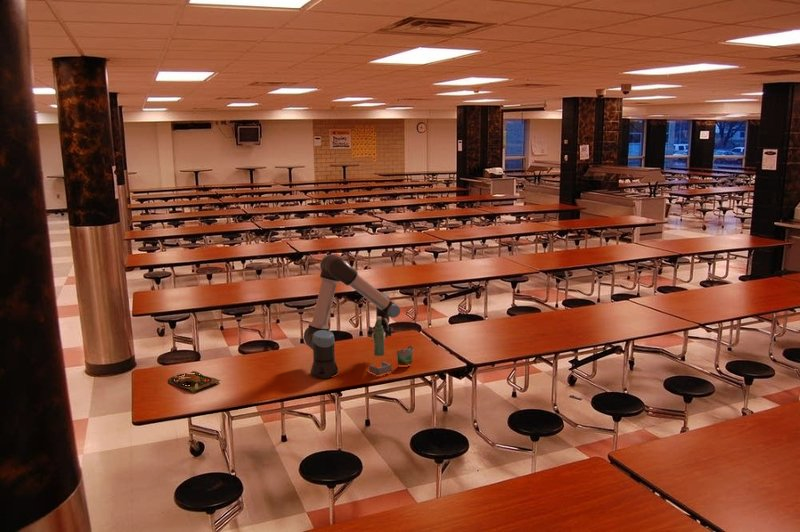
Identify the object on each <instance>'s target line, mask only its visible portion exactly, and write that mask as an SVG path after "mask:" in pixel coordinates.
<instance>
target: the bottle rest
mask: <svg viewBox="0 0 800 532" xmlns="http://www.w3.org/2000/svg"><path fill="white" fill-rule="evenodd" d="M392 369H393V368H392V364H390V363H388V362H386V361H381V366H380V368H379V367H377V366H374V365H372V364H369V365H368V370H369V371H370V372H372V373H374V374H376V375H380V374H383V373H387V372H390V371H392ZM392 372H393V371H392Z"/></svg>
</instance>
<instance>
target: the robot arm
mask: <svg viewBox="0 0 800 532" xmlns="http://www.w3.org/2000/svg"><path fill="white" fill-rule="evenodd" d="M319 267H320V269H321V271H320V276H319V278H320V279H321V283H320V288H319V291H318V295H317V299H316V304H315V307H314V308H315V309H314V313H313V317H312V321H311V322H309V323H308V326H307V327H306V329H305V330H304V332H303V340H304V342H305V344H306V346H308V347H309V348H310V349H312V355H313V356H312V357H313V362H312V365H311V369H310V376H311V377H312V376H313V377H312V378H314V377H316V378H315V379H318V378H328V377H331V376H334V375H336V374H337V373H338V374H339V367H338V365H337V362H336V357H335V355H336V353H335V352H336V351H335V349H336V348H335V341H336V340H335V335H334V333H333V332H332V331H329V330H330V327H329V325H328V322H329V318H330V315H331V310H332V305H333V302H334V298H335V293H336V289H337V284H338V283H340V282H341V283H343V284H344V285H345V286H349V287H351V288H352V289H354V290H355V291H356V292H357V293H358V294H359V295H361V296H363V297H364V298H365V299H366V300H367V301H369V302H370V303H372V304H373V305H374V306H375V308H376V309H375V312H376V317H378V316H380V317H381V325H382V326H383V329H384V335H383V341H384V342H385V341H386V338H388V337H391V336H392V332H393V326H390V327H389V324H390V321H391V319H390V318H393V319H394V318H397V317H398V316H400V314H401V308H400V306H399V305H398V304H397V303H394V302H393V301H392V300H390V295H388V294H386V293H382V292H381V291H379V290H378V289H377V288H376V287H374V286H373V285H372V284H370V283H369V282H368V281H367V280H365V279H364V278H363V277H362V276H360V275H359V273H358V271H357V270H356V269H355V268H354V267H353V266H352V265H351V264H350V263H348V261H346V260H345V259H344V258H342V257H340V256H338V255H336V254H327V255H326V256H323V258H322V259H321V260H320V264H319ZM376 317H375V318H376ZM375 326H377V323H376V322H375V323H374V326H369V327H368V330H367V337H370V338H371V341H374V329H375ZM328 379H329V378H328Z"/></svg>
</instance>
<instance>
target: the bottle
mask: <svg viewBox="0 0 800 532" xmlns="http://www.w3.org/2000/svg"><path fill="white" fill-rule="evenodd" d="M375 318H376V320H375V323H377V326H375V325H374V326H375V329H374V339H373V354H374V356H376V357H382V356H385V341H383V335H384V329H383V326H382V325H381V317H380V316H378V317H375Z"/></svg>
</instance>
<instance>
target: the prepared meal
mask: <svg viewBox="0 0 800 532" xmlns="http://www.w3.org/2000/svg"><path fill="white" fill-rule="evenodd" d="M187 373H188V372H186V373H179V374H176V375H173V376H171V377H170V378H168V379H167V380H168V383H167V384H171V385H173V386H176V387H178V388H182V389H186V390H187V389H188V391H190V392H191V393H192V394H193V395H195V393H196V391H198V390H202V389H203V388H206V387H208V386H211V385H214V384H216V385H220V384H221V383H219V382H220V381H221V379H218V378H214V377H211V376H207V375H203V374H202V373H200V372H199V371H196V370H192V371H190V373H195V374H187ZM184 374H185V376H184V377H183V376H182V375H184ZM199 374H200V375H199ZM179 376H182V377H179ZM179 378H180V379H179ZM174 379H175V381H174ZM177 380H178V381H177ZM183 384H184V385H183ZM185 385H187V386H185ZM188 385H190V386H188Z"/></svg>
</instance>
